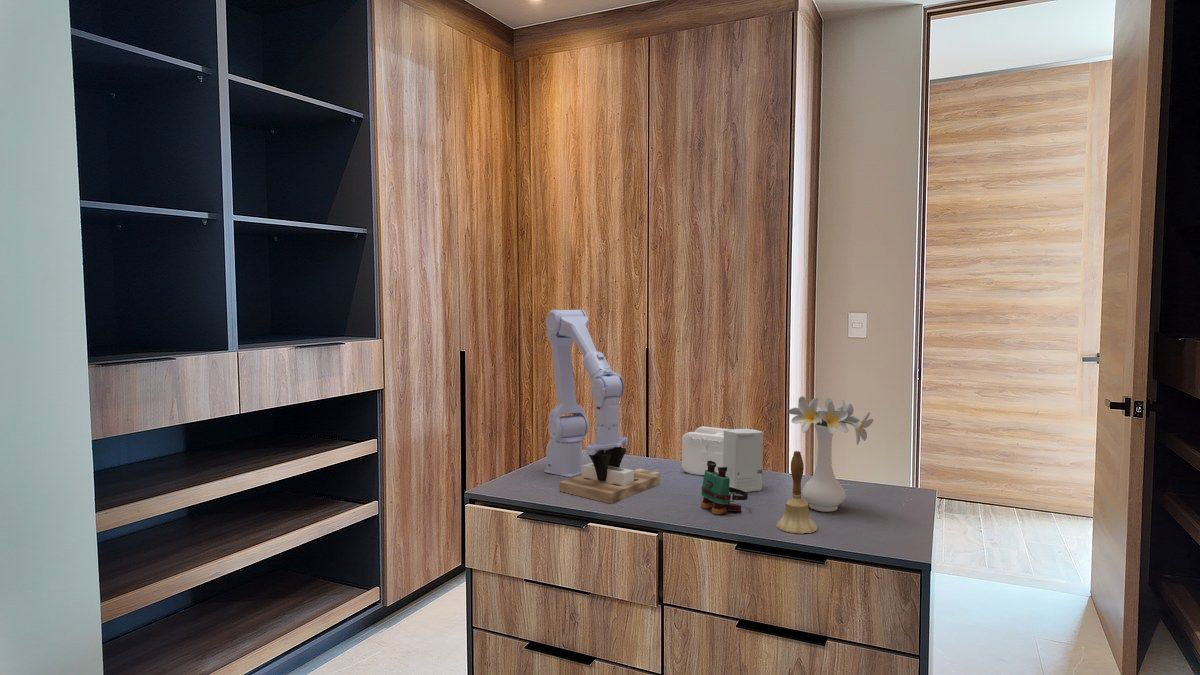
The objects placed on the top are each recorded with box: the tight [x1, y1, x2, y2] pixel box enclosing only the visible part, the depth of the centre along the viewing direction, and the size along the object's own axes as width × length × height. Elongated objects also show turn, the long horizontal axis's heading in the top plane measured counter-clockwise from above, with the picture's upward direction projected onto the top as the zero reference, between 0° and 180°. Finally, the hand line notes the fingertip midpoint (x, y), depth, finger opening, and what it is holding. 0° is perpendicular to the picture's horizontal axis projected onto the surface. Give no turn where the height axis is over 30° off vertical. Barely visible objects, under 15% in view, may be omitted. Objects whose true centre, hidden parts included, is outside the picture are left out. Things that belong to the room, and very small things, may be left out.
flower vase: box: [787, 396, 874, 513], centre depth 159 cm, size 13×18×25 cm
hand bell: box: [775, 450, 818, 535], centre depth 146 cm, size 8×8×16 cm
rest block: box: [634, 468, 661, 480], centre depth 184 cm, size 6×3×2 cm, turn 52°
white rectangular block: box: [581, 461, 635, 486], centre depth 174 cm, size 13×4×5 cm, turn 52°
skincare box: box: [723, 428, 764, 494], centre depth 175 cm, size 8×6×15 cm
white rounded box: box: [681, 425, 730, 476], centre depth 190 cm, size 15×11×12 cm
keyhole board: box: [559, 471, 660, 504], centre depth 175 cm, size 20×16×2 cm
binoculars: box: [700, 461, 749, 515], centre depth 159 cm, size 9×11×10 cm
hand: (607, 478), depth 174 cm, fingers closed on white rectangular block, 4 cm apart
